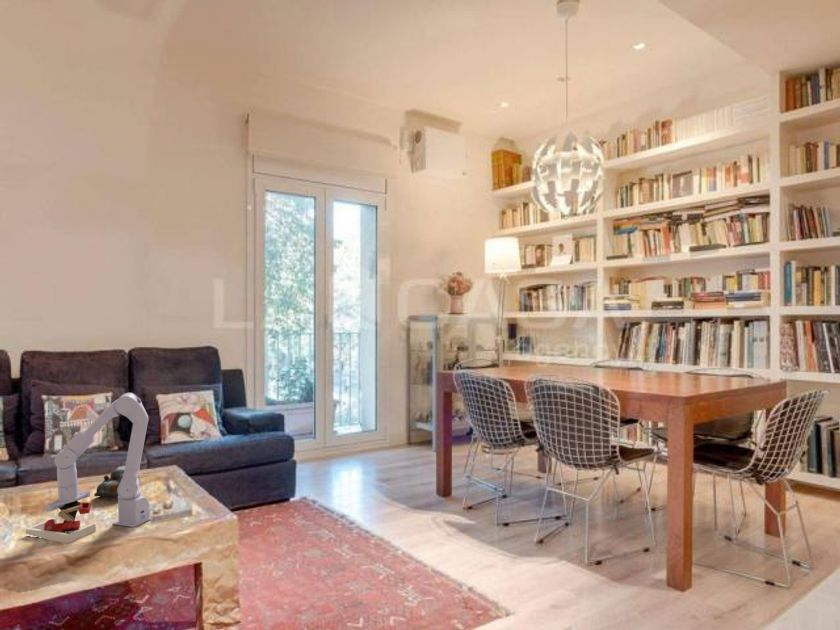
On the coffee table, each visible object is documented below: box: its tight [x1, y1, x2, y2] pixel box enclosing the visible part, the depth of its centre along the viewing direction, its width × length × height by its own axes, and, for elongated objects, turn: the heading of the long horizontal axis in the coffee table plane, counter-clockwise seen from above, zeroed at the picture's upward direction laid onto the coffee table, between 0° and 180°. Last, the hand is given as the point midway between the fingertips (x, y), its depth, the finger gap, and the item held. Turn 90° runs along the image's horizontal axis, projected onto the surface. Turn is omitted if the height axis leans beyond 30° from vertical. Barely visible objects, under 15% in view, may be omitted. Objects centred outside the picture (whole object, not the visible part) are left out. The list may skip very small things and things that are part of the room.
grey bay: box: [25, 517, 97, 544], centre depth 193 cm, size 19×10×2 cm, turn 70°
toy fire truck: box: [44, 501, 92, 534], centre depth 193 cm, size 3×14×10 cm, turn 111°
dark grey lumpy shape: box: [93, 465, 125, 498], centre depth 231 cm, size 15×12×14 cm
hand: (70, 525), depth 196 cm, fingers closed, pressing on toy fire truck
